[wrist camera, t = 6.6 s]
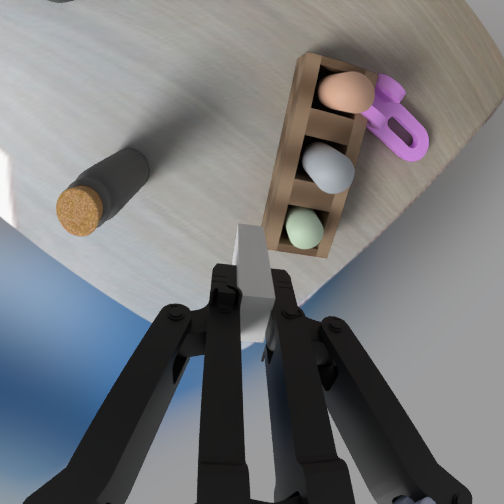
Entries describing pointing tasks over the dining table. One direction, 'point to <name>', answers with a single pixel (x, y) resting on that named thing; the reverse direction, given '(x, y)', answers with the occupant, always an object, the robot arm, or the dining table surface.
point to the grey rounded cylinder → (327, 167)
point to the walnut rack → (285, 170)
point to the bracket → (389, 106)
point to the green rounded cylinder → (303, 227)
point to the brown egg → (346, 92)
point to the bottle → (101, 191)
